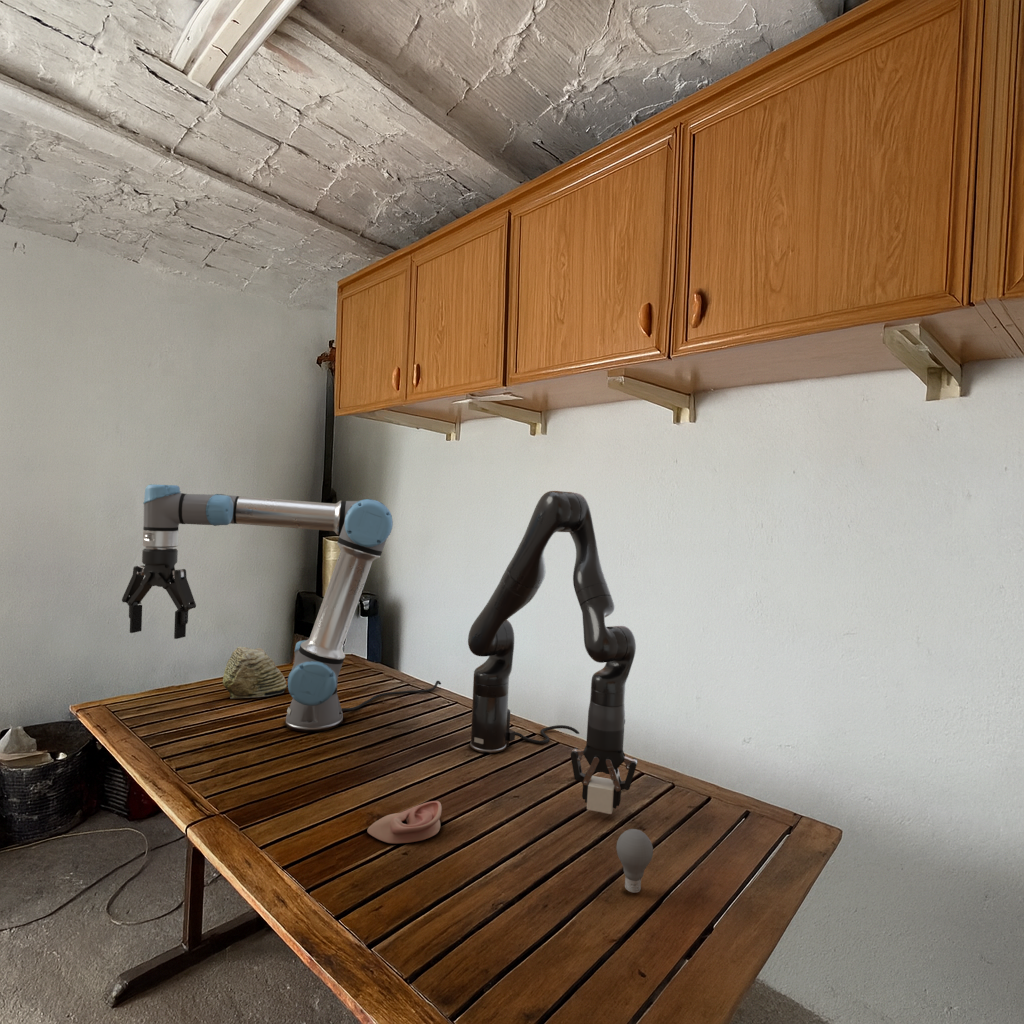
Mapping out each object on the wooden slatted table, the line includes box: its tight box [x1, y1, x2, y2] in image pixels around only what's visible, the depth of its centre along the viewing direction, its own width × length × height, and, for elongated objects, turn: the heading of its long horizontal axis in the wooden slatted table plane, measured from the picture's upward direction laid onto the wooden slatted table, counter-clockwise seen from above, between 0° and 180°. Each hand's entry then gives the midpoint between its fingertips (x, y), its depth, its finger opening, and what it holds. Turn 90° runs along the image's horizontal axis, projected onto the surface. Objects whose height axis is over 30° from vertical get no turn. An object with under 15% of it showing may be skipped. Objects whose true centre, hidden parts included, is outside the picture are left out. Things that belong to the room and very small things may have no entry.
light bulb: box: [615, 828, 654, 894], centre depth 106 cm, size 6×6×10 cm
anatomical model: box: [366, 800, 443, 845], centre depth 122 cm, size 13×4×12 cm
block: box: [586, 775, 615, 815], centre depth 131 cm, size 5×5×5 cm
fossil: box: [222, 646, 288, 699], centre depth 198 cm, size 9×18×15 cm, turn 132°
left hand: (157, 634), depth 154 cm, fingers open, 13 cm apart
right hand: (601, 803), depth 131 cm, fingers closed on block, 5 cm apart
